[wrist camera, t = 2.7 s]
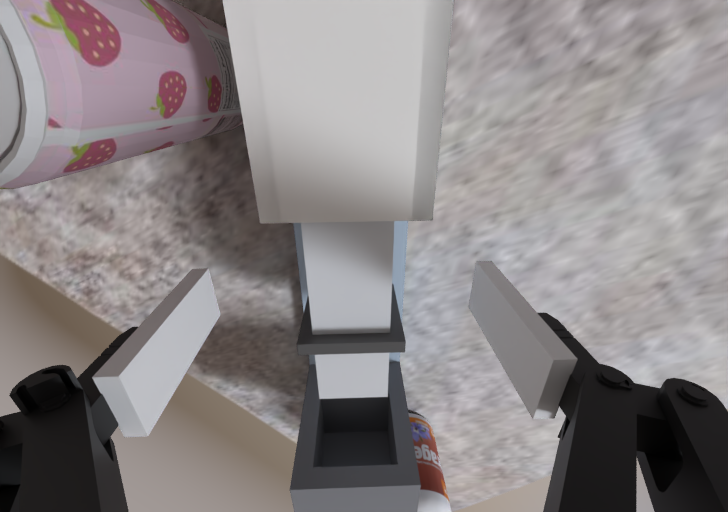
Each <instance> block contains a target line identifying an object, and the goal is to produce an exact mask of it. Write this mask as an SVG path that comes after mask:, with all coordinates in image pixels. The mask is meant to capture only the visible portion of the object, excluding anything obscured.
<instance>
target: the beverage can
mask: <svg viewBox="0 0 728 512" xmlns="http://www.w3.org/2000/svg"><path fill="white" fill-rule="evenodd" d="M242 123H243V119H242V113H241V107H240V101H239V95H238V89H237V83H236V77H235V71H234V65H233V59H232V53H231V48H230V42H229V36H228V30H227V29H226V28H225V27H223V26H221V25H219V24H217V23H215V22H213V21H211V20H209V19H207V18H205V17H203V16H201V15H199V14H197V13H195V12H193V11H191V10H189V9H187V8H185V7H183V6H181V5H179V4H178V3H176V2H174V1H172V0H0V189H15V188H20V187H24V186H28V185H33V184H37V183H40V182H44V181H48V180H51V179H55V178H59V177H62V176H66V175H69V174H73V173H77V172H80V171H84V170H87V169H91V168H95V167H98V166H102V165H105V164H109V163H113V162H116V161H120V160H123V159H127V158H131V157H134V156H138V155H141V154H145V153H149V152H152V151H156V150H160V149H163V148H167V147H170V146H174V145H178V144H181V143H185V142H188V141H192V140H196V139H199V138H203V137H206V136H210V135H214V134H217V133H221V132H224V131H228V130H232V129H234V128H236V127H238V126H240V125H241V124H242Z"/></svg>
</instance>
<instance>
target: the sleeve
mask: <svg viewBox="0 0 728 512" xmlns="http://www.w3.org/2000/svg"><path fill="white" fill-rule="evenodd" d="M223 6H224V12H225V18H226V24H227V30H228V36H229V42H230V48H231V53H232V59H233V65H234V71H235V77H236V83H237V89H238V95H239V101H240V107H241V113H242V119H243V125H244V131H245V136H246V142H247V148H248V154H249V160H250V166H251V172H252V178H253V184H254V190H255V196H256V202H257V208H258V213H259V219H260V223H314V222H370V221H425V220H433V210H434V200H435V190H436V179H437V169H438V159H439V149H440V138H441V128H442V118H443V108H444V98H445V87H446V77H447V67H448V57H449V46H450V36H451V26H452V16H453V6H454V0H223Z"/></svg>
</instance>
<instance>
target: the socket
mask: <svg viewBox="0 0 728 512" xmlns="http://www.w3.org/2000/svg"><path fill="white" fill-rule="evenodd" d="M420 488H421V483H420V477H419V471H418V466H417V460H416V454H415V448H414V443H413V437H412V431H411V425H410V419H409V414H408V408H407V402H406V396H405V391H404V385H403V379H402V373H401V368H400V362H389V373H388V397H365V398H333V399H319V390H318V381H317V371H316V364H310V367H309V373H308V379H307V386H306V392H305V398H304V404H303V411H302V417H301V423H300V429H299V436H298V442H297V448H296V454H295V461H294V467H293V473H292V480H291V486H290V493H291V498H292V502H293V507H294V512H417V510H418V503H419V495H420Z"/></svg>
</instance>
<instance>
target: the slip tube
mask: <svg viewBox="0 0 728 512" xmlns="http://www.w3.org/2000/svg"><path fill="white" fill-rule="evenodd" d="M301 229H302V239H303V248H304V258H305V267H306V277H307V286H308V297H307V302H306V306H305V311H304V315H303V319H302V324H301V328H300V333H299V337H298V342H297V350H298V355H315V362H316V371H317V381H318V390H319V399H333V398H365V397H388V373H389V353H396V352H405V343H406V341H405V337H404V332H403V327H402V323H401V318H400V313H399V308H398V304H397V299H396V294H395V290H394V285H393V284H392V271H393V246H394V221H370V222H314V223H301Z"/></svg>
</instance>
